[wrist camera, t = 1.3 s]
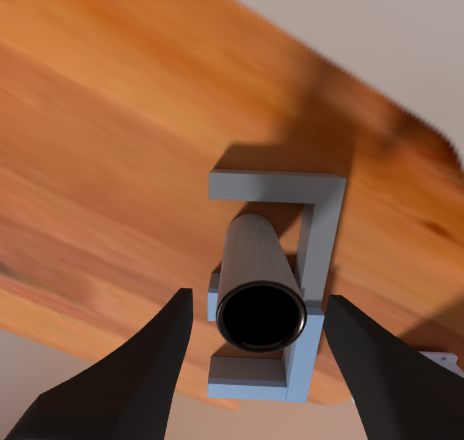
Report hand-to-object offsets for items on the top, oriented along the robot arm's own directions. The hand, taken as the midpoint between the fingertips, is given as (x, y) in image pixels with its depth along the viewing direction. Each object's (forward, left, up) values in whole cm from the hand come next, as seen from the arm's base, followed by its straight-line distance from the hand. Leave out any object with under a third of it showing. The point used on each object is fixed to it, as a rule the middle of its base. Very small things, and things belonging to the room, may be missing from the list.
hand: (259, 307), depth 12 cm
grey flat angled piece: (+1, +6, -9) cm, 11 cm away
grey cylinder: (0, 0, -10) cm, 10 cm away
